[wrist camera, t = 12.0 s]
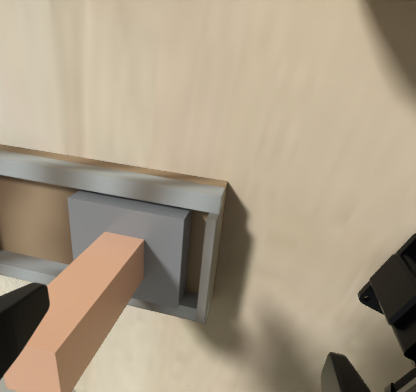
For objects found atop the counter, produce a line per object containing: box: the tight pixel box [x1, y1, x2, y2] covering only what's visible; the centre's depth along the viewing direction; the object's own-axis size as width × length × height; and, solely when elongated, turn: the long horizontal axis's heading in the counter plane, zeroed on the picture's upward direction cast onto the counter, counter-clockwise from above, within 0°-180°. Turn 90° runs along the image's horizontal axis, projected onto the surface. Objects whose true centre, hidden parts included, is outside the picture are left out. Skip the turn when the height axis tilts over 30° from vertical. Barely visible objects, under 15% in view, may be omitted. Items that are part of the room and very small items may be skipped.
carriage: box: [4, 189, 192, 392], centre depth 18 cm, size 8×7×11 cm
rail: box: [0, 144, 228, 323], centre depth 23 cm, size 21×10×4 cm, turn 84°
